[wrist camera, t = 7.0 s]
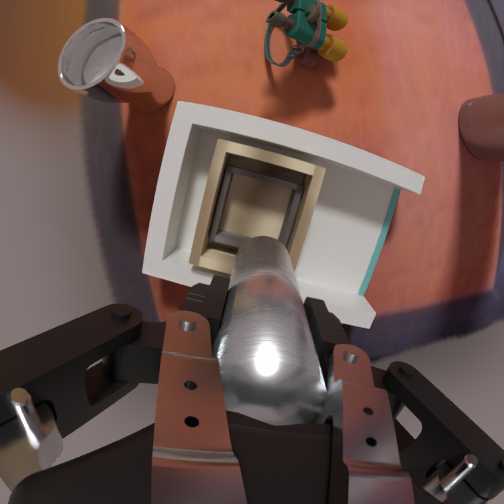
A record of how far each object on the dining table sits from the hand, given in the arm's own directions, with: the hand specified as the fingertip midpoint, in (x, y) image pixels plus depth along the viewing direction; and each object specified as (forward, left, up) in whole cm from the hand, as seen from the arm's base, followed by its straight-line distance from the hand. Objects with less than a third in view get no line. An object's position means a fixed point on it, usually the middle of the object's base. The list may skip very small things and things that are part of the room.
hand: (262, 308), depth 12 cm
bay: (-2, -1, -23) cm, 23 cm away
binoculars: (+1, -22, -23) cm, 32 cm away
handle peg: (0, 0, -6) cm, 6 cm away
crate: (+1, -1, -21) cm, 21 cm away
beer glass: (+17, -12, -23) cm, 31 cm away
